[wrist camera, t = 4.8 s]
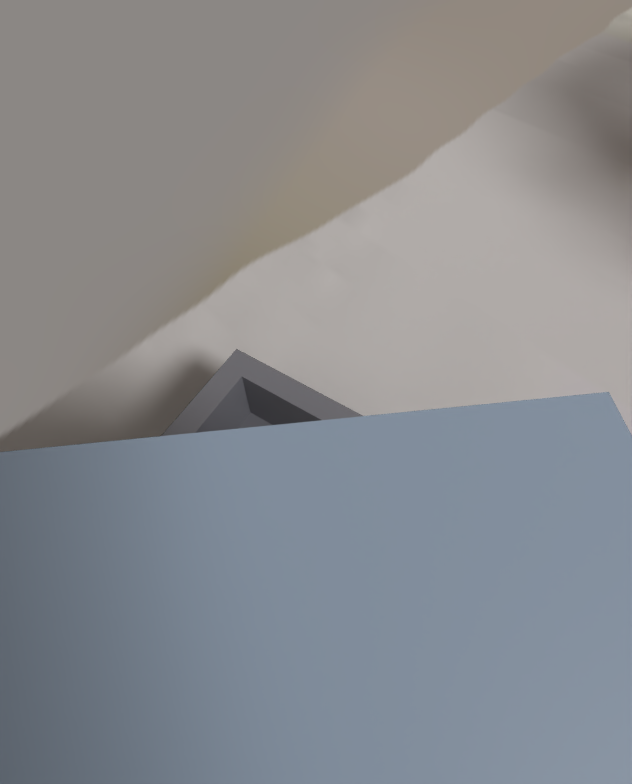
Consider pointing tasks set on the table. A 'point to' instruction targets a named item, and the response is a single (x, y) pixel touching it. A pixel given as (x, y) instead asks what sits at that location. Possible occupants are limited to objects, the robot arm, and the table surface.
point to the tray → (253, 400)
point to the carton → (324, 602)
